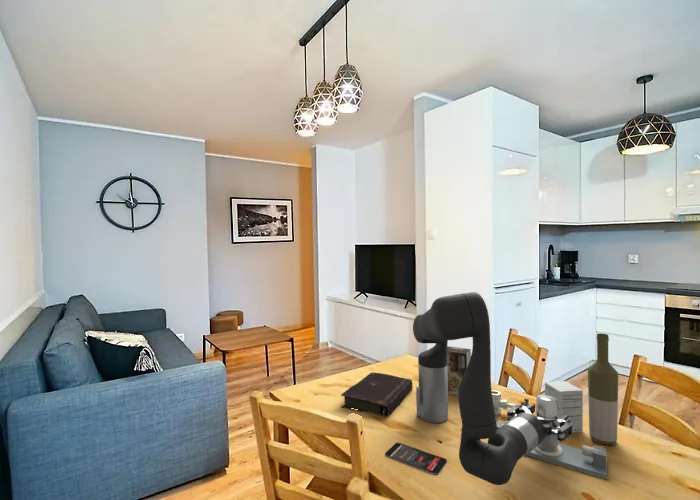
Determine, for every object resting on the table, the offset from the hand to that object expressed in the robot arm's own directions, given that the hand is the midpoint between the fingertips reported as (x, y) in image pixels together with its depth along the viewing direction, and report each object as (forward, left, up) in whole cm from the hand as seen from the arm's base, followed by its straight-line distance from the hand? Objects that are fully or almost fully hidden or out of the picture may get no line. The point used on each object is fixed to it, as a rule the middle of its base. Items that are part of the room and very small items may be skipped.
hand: (549, 412), depth 97 cm
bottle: (+12, +13, -10) cm, 20 cm away
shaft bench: (0, -2, -10) cm, 10 cm away
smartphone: (-28, -24, -11) cm, 39 cm away
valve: (-14, +14, -10) cm, 23 cm away
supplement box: (+2, +16, -10) cm, 19 cm away
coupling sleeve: (0, -2, -9) cm, 9 cm away
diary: (-56, +2, -11) cm, 57 cm away
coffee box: (-33, +23, -10) cm, 42 cm away
